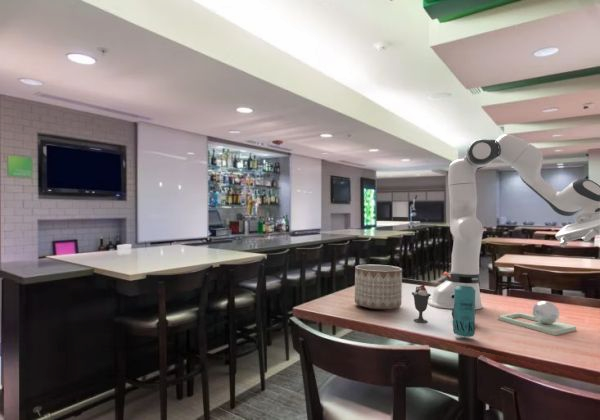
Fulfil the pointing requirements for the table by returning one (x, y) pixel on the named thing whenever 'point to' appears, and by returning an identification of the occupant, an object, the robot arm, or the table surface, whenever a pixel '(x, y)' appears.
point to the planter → (378, 286)
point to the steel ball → (545, 312)
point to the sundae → (421, 301)
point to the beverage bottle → (464, 308)
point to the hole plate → (538, 324)
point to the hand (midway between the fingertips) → (573, 242)
